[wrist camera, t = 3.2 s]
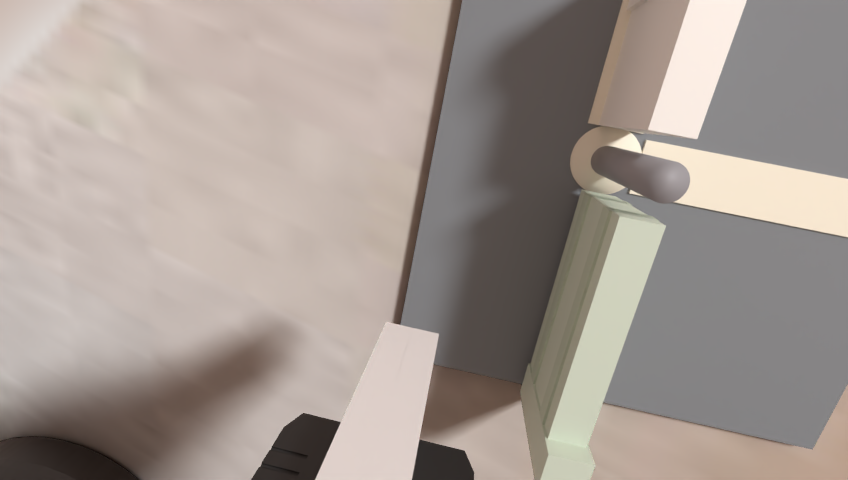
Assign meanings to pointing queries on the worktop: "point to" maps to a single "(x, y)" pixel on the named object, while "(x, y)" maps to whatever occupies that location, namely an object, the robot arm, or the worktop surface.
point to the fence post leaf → (664, 86)
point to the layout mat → (649, 212)
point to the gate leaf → (585, 331)
